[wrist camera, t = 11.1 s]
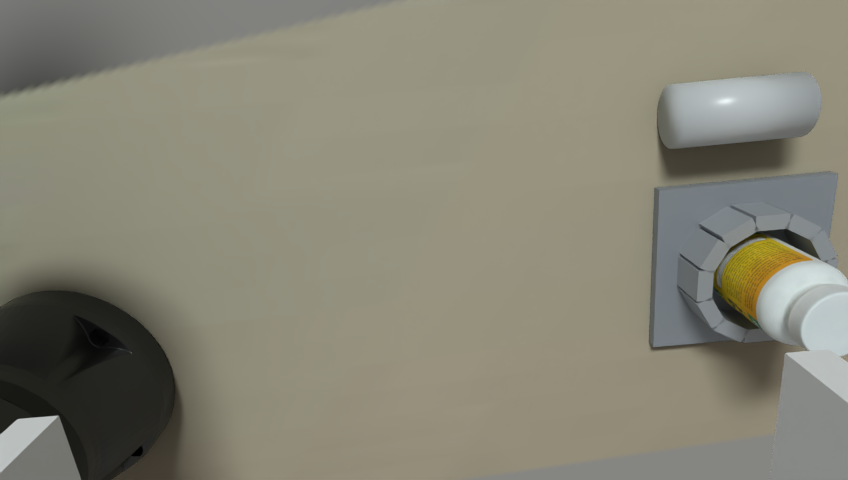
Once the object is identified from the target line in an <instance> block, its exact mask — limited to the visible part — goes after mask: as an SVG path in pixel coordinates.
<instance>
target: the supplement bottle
mask: <svg viewBox="0 0 848 480" xmlns="http://www.w3.org/2000/svg"><path fill="white" fill-rule="evenodd" d="M713 291H714V292H715V293H716V294H717V295H718V296H720V297H721V298H722V299H723V300H725V301H726V302H727V303H728V304H730V305H731V306H732V307H733V308H735V309H736V310H737V311H739V312H740V313H741V314H742V315H744V316H745V317H746V318H747V319H749V320H750V321H751V322H752V323H754V324H755V325H756V326H757V327H759V328H760V329H761V330H762V331H764V332H765V333H766V334H767V335H769V336H770V337H772V338H773V339H775V340H777V341H779V342H782V343H785V344H789V345H798V346H801V347H803V348H805V349H806V350H808V351H814V350H826V349H829V350H830V351H832V352H833V353H835V354H836V355H838V356H839V357H840V356H844V355H847V354H848V280H847V278H846V277H845V276H844V275H843V274H842V273H841V272H840V271H839V270H838V269H836V268H835V267H833V266H831V265H829V264H827V263H825V262H823V261H821V260H819V259H817V258H815V257H813V256H811V255H809V254H807V253H805V252H803V251H801V250H799V249H797V248H795V247H793V246H791V245H789V244H787V243H785V242H783V241H781V240H779V239H777V238H775V237H773V236H771V235H769V234H766V233H764V232H759V231H757V232H755V233H754V234H752V235H750V236H749V237H747V238H745V239H744V240H742V241H740V242H739V243H737V244H736V245H734V246H732V247H731V248H730V249H729V250H728V252H727V253H726V255H725V257H724V258H723V260H722V261H721V263H720V264H719V266H718V267H717V269H716V270H715V272H714V279H713Z"/></svg>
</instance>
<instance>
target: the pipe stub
mask: <svg viewBox="0 0 848 480" xmlns="http://www.w3.org/2000/svg"><path fill="white" fill-rule="evenodd" d="M820 110H821V93H820V88H819V85H818V83H817V81H816V80H815V78H814V77H813V76H812V75H811V74H809V73H807V72H793V73H783V74H772V75H762V76H752V77H741V78H731V79H721V80H710V81H700V82H690V83H679V84H670V85H668V86H666V87H665V89H664V90H663V92H662V94H661V96H660V100H659V104H658V112H657V122H658V130H659V134H660V138H661V140H662V142H663V144H664V145H665V146H666V147H667V148H669V149H678V148H688V147H699V146H709V145H720V144H731V143H741V142H752V141H762V140H773V139H784V138H794V137H802V136H804V135H806V134H808V133H809V132H810V131H811V130H812V129H813V127H814V126H815V124H816V122H817V120H818V117H819V114H820Z"/></svg>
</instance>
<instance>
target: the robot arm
mask: <svg viewBox="0 0 848 480" xmlns="http://www.w3.org/2000/svg"><path fill="white" fill-rule="evenodd" d="M173 404H174V382H173V377H172V372H171V369H170V366H169V364H168V361H167V359H166V357H165V355H164V353H163V351H162V350H161V348H160V346H159V345H158V344H157V342H156V341H155V339H154V338H153V337H152V336H151V335H150V333H149V332H148V331H147V330H146V329H145V328H144V327H143V326H142V325H141V324H139V323H138V322H137V321H136V320H135V319H133V318H132V317H131V316H129V315H128V314H127V313H125V312H124V311H122V310H120V309H119V308H117V307H115V306H113V305H111V304H109V303H107V302H105V301H102V300H100V299H97V298H94V297H91V296H88V295H84V294H79V293H74V292H67V291H43V292H36V293H31V294H27V295H24V296H21V297H18V298H16V299H13V300H11V301H9V302H8V303H6V304H4V305H2V306H1V307H0V480H111V479H113V478H114V477H116V476H117V475H119V474H120V473H122V472H123V471H125V470H126V469H128V468H129V467H131V466H132V465H133V464H135V463H136V462H137V461H138V460H140V459H141V458H142V457H143V456H144V455H145V454H146V453H147V452H148V450H149V449H150V448H151V447H152V445H153V444H154V442H155V441H156V439H157V438H158V437H159V435H160V434H161V432H162V431H163V429H164V428H165V426H166V424H167V423H168V420H169V418H170V416H171V412H172V409H173ZM770 480H848V362H846V361H845V360H843V359H842V358H840V357H839V356H838V355H836V354H835V353H833V352H832V351H830V350H829V349H826V350H814V351H803V352H791V353H785V358H784V366H783V374H782V382H781V390H780V399H779V407H778V415H777V423H776V431H775V440H774V448H773V456H772V464H771V472H770Z"/></svg>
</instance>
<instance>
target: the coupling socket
mask: <svg viewBox="0 0 848 480" xmlns="http://www.w3.org/2000/svg"><path fill="white" fill-rule="evenodd" d="M837 180H838V173H834V172H830V171H829V172H819V173H808V174H797V175H786V176H776V177H765V178H754V179H743V180H732V181H722V182H711V183H700V184H689V185H679V186H668V187H657V188H655V193H654V220H653V248H652V275H651V303H650V330H649V342H650V344H651V345H652V346H653V347H661V346H673V345H684V344H696V343H707V342H719V341H730V340H736V341H738V342H741V341H743V342H744V343H751V342H762V341H774V340H775V339H773V338H772V337H770V336H769V335H767V334H766V333H765V332H764V331H762V330H761V329H760V328H759V327H757V326H756V325H755V324H754V323H752V322H751V321H750V320H749V319H747V318H746V317H745V316H744V315H742V314H741V313H740V312H739V311H737V310H736V309H735V308H733V307H732V306H731V305H730V304H728V303H727V302H726V301H725V300H723V299H722V298H721V297H720V296H718V295H717V294H716V293H715V292H714V291H713V279H714V272H715V270H716V269H717V267H718V266H719V264H720V263H721V261H722V260H723V258H724V257H725V255H726V253H727V252H728V250H729V249H730V248H731V247H732V246H734V245H736V244H737V243H739V242H740V241H742V240H744V239H745V238H747V237H749V236H750V235H752V234H754V233H755V232H757V231H759V232H764V233H766V234H769V235H771V236H773V237H775V238H777V239H779V240H781V241H783V242H785V243H787V244H789V245H791V246H793V247H795V248H797V249H799V250H801V251H803V252H805V253H807V254H809V255H811V256H813V257H815V258H817V259H819V260H821V261H823V262H825V263H827V264H829V265H831V266H833V267H835V268H836V269H837V263H838V259H836V258H835V257H836V256H837V254H836V252H835V250H834V248H833V246H832V244H831V242H830V240H829V237H830V229H831V222H832V215H833V208H834V201H835V194H836V187H837Z"/></svg>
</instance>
